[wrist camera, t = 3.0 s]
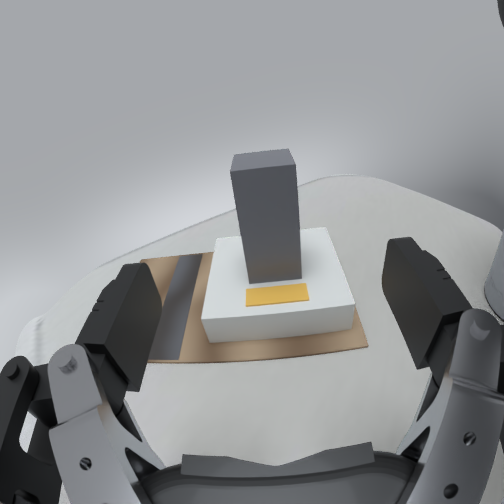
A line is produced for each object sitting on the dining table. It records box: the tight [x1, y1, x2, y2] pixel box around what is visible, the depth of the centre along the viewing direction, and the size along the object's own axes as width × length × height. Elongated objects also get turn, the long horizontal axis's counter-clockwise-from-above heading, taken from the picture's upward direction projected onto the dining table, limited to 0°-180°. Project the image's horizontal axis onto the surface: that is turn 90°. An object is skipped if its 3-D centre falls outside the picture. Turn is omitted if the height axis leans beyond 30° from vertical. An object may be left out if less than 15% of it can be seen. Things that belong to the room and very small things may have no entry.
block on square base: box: [201, 149, 355, 343], centre depth 25 cm, size 12×12×13 cm
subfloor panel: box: [140, 252, 368, 363], centre depth 29 cm, size 24×16×1 cm, turn 90°
